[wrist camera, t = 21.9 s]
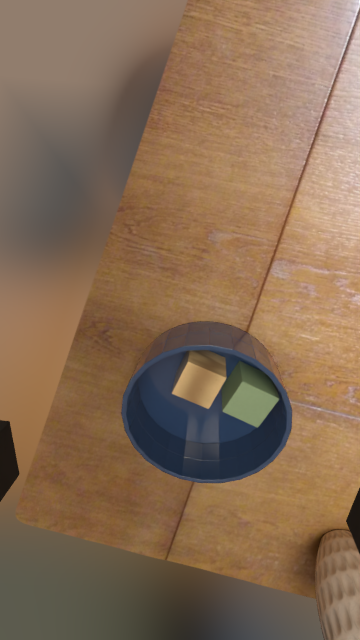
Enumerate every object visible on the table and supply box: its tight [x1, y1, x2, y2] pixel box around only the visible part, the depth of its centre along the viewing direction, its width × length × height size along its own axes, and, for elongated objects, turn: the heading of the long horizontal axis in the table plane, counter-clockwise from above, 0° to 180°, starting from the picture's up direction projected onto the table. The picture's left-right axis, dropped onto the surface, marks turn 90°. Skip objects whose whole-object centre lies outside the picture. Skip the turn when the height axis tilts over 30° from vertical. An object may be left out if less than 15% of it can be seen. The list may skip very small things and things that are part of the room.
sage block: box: [222, 361, 279, 428], centre depth 39 cm, size 5×5×5 cm
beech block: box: [172, 350, 227, 409], centre depth 39 cm, size 5×5×5 cm
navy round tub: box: [121, 322, 292, 483], centre depth 40 cm, size 20×20×7 cm
